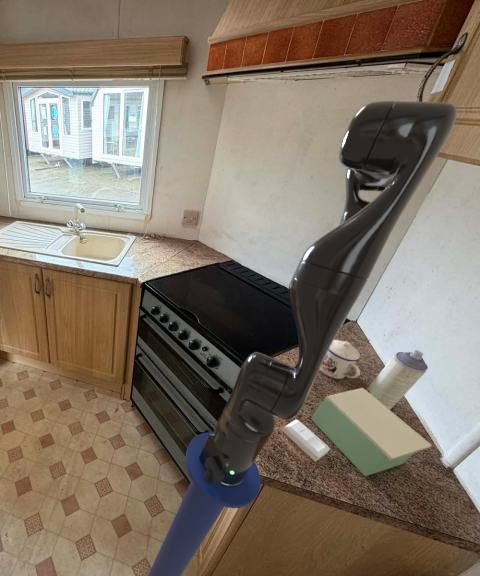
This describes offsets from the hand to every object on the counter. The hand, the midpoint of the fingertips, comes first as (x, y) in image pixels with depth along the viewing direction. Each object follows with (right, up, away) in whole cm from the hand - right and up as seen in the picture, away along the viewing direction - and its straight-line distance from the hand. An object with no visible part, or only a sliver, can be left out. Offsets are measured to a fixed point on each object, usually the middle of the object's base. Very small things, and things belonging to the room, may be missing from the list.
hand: (328, 314), depth 79 cm
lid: (+9, -26, -3) cm, 27 cm away
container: (+8, -33, +2) cm, 34 cm away
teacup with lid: (+18, -21, +22) cm, 35 cm away
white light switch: (-6, -33, +1) cm, 33 cm away
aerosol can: (+24, -27, +13) cm, 39 cm away
